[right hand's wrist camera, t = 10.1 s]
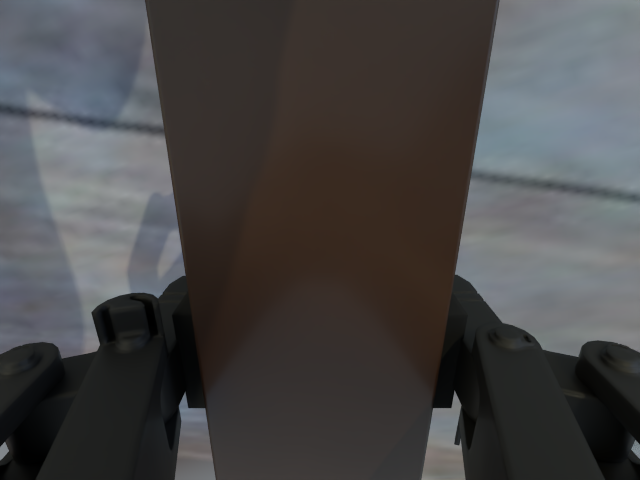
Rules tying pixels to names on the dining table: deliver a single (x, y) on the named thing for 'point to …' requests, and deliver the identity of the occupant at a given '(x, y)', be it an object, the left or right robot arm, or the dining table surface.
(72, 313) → the dining table surface
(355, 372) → the walnut beam
